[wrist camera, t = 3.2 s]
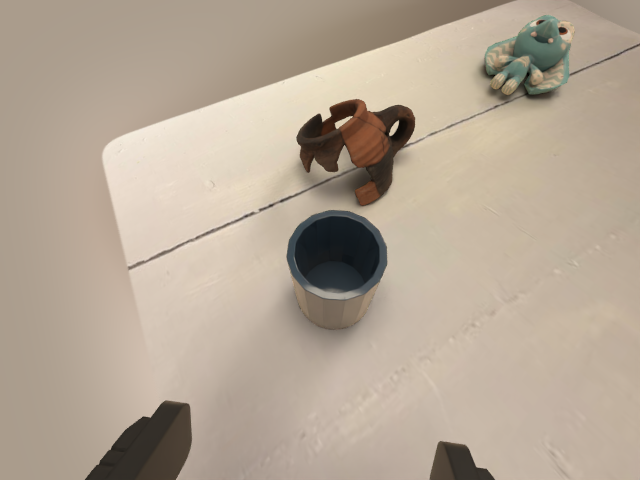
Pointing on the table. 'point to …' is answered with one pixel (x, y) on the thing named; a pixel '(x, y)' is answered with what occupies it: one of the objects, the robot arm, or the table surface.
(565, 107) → the table surface
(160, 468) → the robot arm
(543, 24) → the stuffed animal
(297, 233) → the cup
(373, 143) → the brown broken clay pot
